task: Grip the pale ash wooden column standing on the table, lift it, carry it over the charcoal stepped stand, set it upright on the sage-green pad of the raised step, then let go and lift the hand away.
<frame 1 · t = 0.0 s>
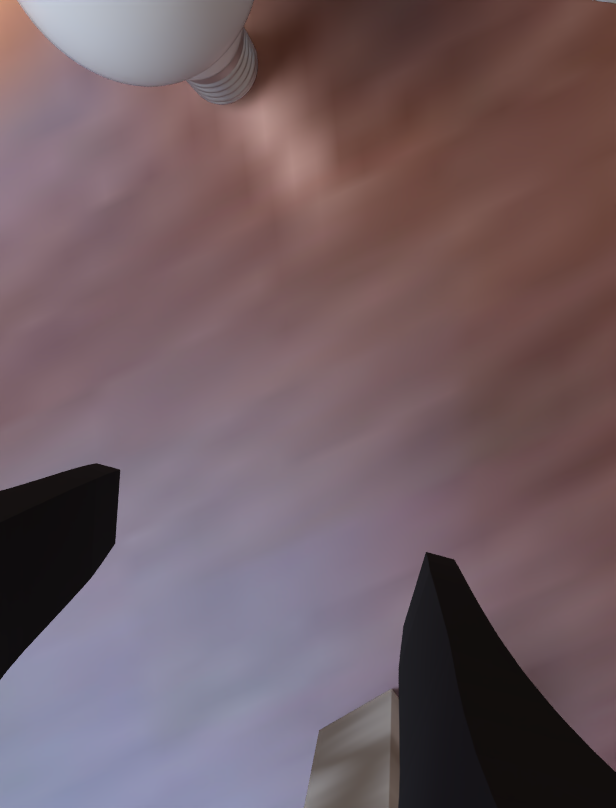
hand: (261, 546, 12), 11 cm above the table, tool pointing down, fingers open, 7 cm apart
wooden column: (381, 744, 25), on the table
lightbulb: (229, 75, 21), on the table
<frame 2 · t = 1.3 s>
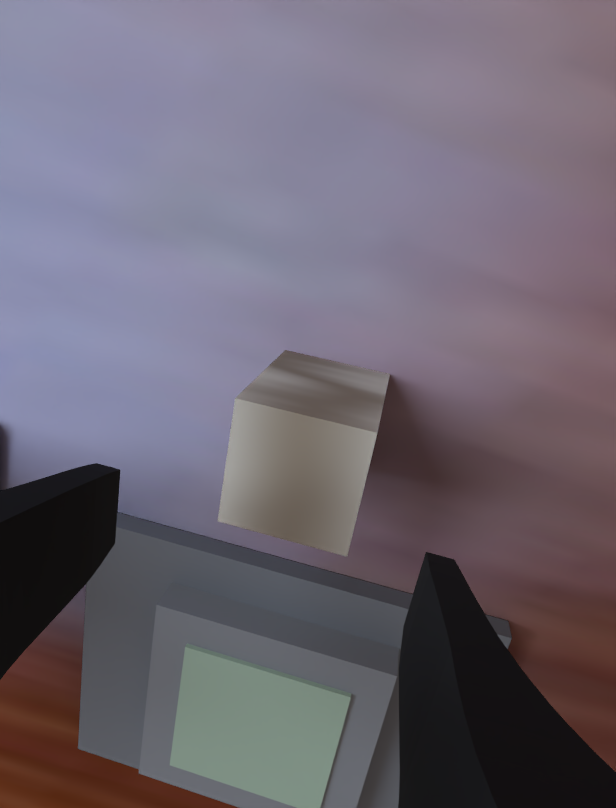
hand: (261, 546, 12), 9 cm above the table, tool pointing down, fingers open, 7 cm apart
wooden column: (326, 411, 21), on the table
stepped stand: (270, 684, 26), on the table
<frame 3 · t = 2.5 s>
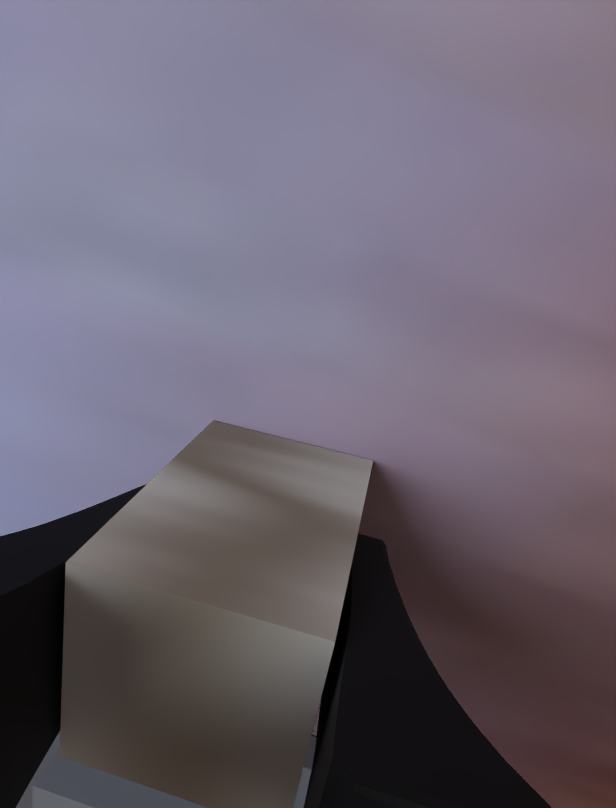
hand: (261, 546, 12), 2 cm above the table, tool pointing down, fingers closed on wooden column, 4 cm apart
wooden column: (278, 511, 14), on the table, touching gripper
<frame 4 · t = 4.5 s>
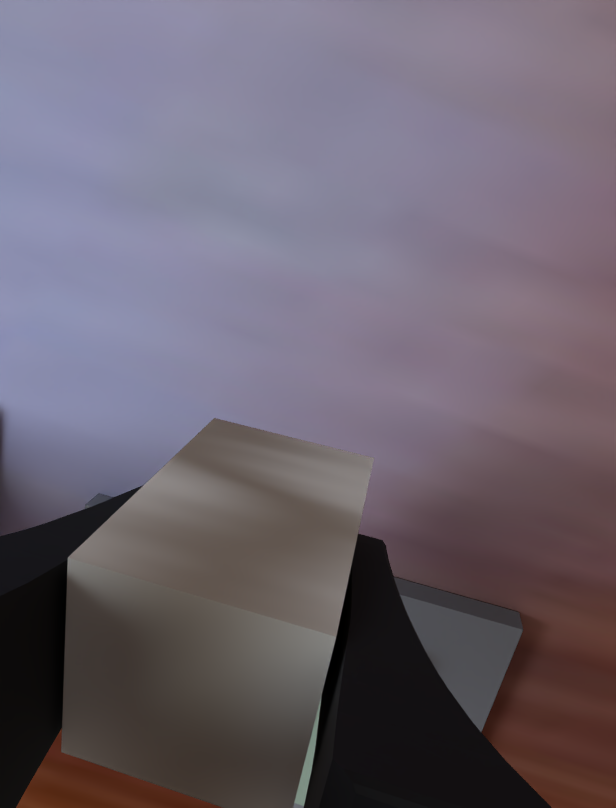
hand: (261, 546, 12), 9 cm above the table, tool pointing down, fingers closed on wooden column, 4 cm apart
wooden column: (279, 508, 14), point 7 cm above the table, touching gripper
stepped stand: (271, 676, 25), on the table
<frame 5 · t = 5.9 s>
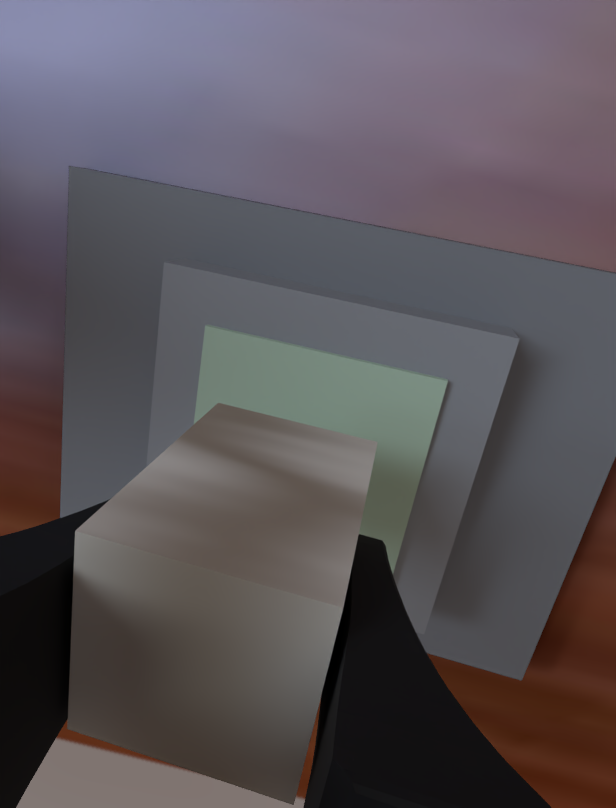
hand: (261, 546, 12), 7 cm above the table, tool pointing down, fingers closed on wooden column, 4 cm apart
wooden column: (283, 493, 14), point 5 cm above the table, touching gripper
stepped stand: (317, 431, 19), on the table
when the fingers open (5 cm above the table, at t = 6.7 s): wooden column stays where it is, resting on stepped stand.
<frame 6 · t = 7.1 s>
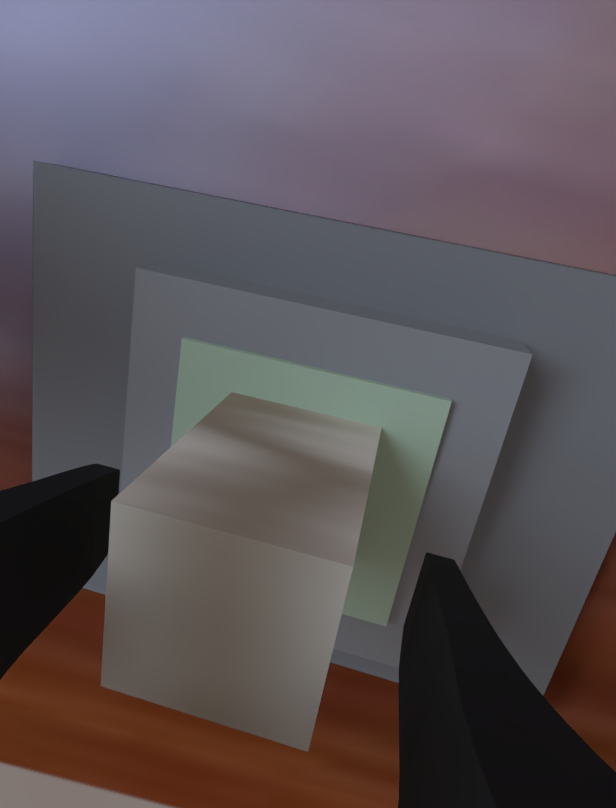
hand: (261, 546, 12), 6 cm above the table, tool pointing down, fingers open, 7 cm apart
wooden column: (292, 477, 15), point 3 cm above the table, touching stepped stand
stepped stand: (308, 451, 18), on the table
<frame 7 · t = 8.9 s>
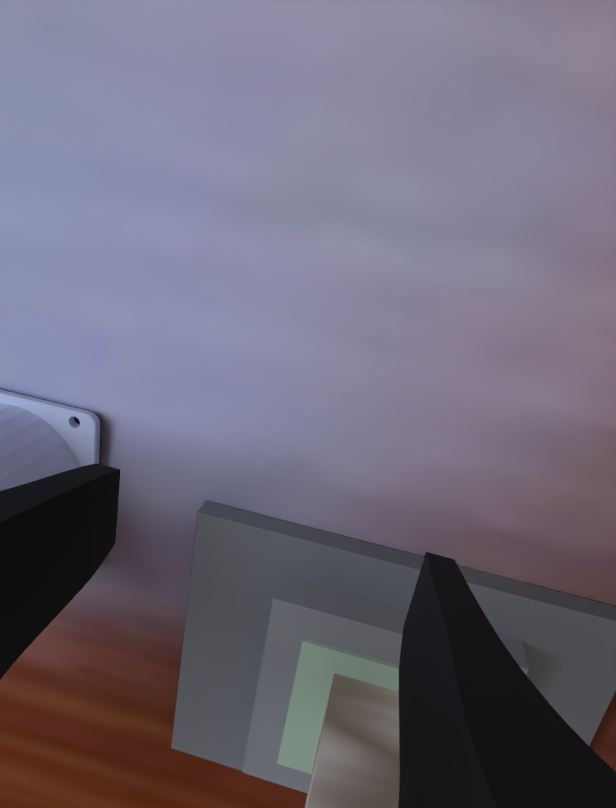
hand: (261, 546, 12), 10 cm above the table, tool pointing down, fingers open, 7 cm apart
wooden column: (372, 723, 23), point 3 cm above the table, touching stepped stand
stepped stand: (375, 679, 25), on the table
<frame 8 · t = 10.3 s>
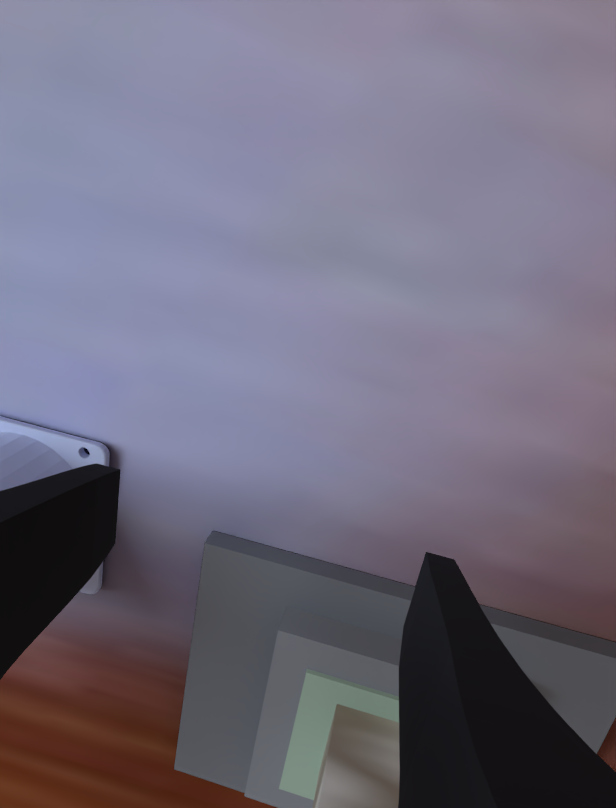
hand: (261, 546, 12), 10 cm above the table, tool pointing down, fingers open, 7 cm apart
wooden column: (374, 752, 23), point 3 cm above the table, touching stepped stand
stepped stand: (376, 706, 26), on the table
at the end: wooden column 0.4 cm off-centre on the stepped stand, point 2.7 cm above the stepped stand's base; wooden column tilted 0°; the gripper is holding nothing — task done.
